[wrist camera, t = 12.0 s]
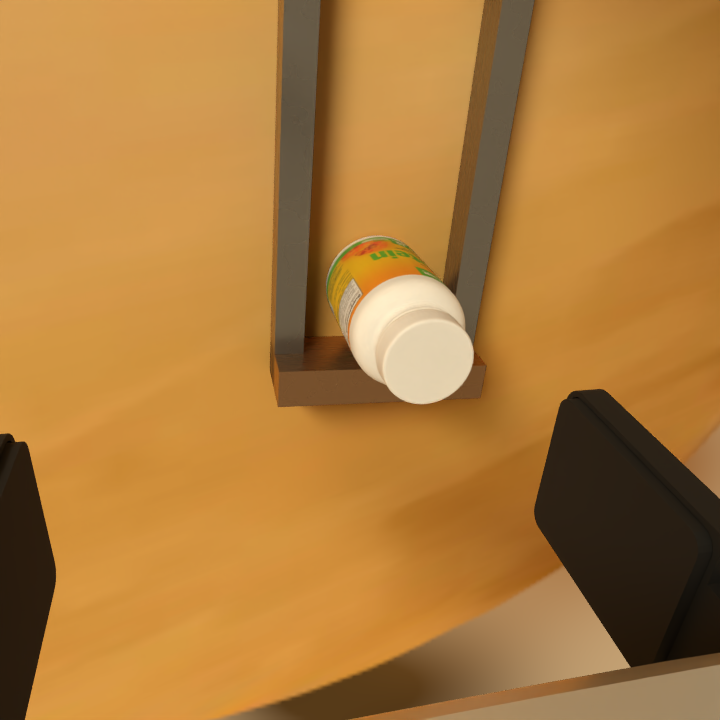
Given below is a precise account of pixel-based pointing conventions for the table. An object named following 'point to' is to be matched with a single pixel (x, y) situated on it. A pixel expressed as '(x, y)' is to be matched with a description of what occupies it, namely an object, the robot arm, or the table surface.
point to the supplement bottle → (399, 320)
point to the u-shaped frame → (293, 201)
